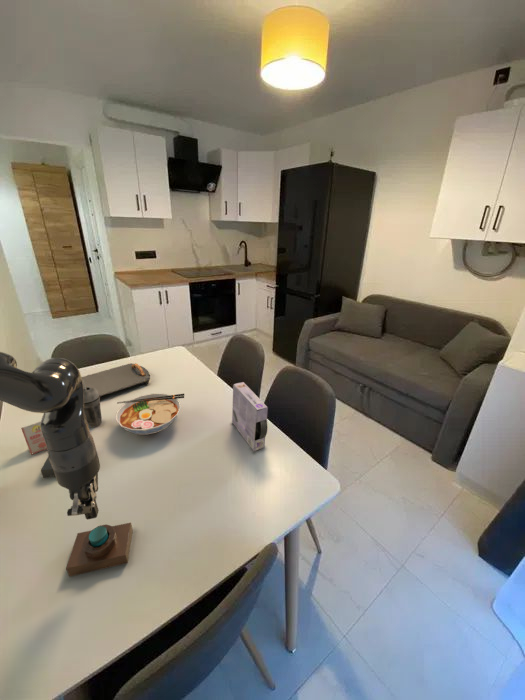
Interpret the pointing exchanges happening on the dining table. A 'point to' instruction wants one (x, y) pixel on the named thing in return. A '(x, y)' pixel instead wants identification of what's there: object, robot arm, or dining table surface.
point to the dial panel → (47, 469)
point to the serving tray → (117, 378)
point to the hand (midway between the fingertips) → (92, 515)
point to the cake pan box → (249, 416)
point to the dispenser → (100, 550)
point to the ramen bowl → (148, 413)
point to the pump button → (98, 536)
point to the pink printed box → (34, 438)
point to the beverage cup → (92, 406)
